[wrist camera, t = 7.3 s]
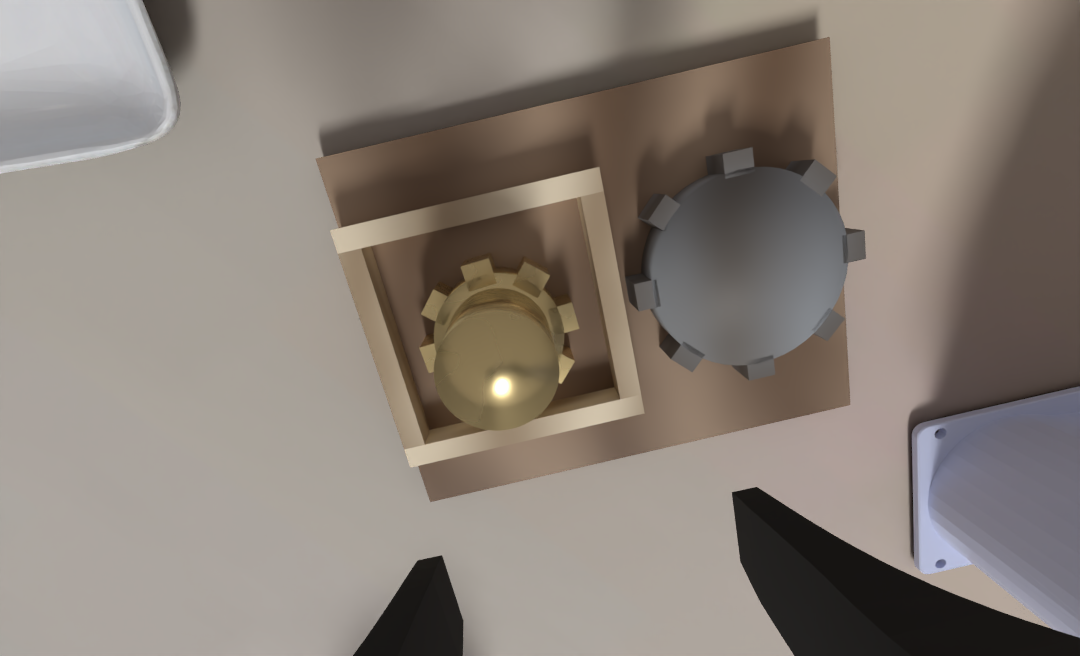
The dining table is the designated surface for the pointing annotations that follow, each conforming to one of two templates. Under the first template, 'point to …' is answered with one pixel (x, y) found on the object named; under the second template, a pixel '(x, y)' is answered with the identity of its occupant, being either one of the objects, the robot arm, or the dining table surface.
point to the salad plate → (80, 81)
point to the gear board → (617, 260)
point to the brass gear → (498, 343)
